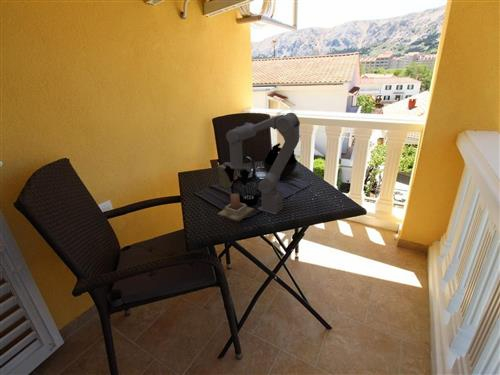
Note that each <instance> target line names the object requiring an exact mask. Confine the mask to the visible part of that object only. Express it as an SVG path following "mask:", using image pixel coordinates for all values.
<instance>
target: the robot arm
mask: <svg viewBox="0 0 500 375" xmlns="http://www.w3.org/2000/svg"><path fill="white" fill-rule="evenodd" d="M300 125H301V123H300V119H299V117H298V116H297V114H295V113H294V112H288V113H286V114H279V115H275V116H272V117H270V118H268V119H265V120H262V121H260V122H258V123H255V124H254V123H252V122H245V123H244V124H243V125H240V126H236V127H234V128H233V129H229V131H227V132H226V134H225V138H226V141H227V142H228V146H229V158H230V159H229V160H230V161H229V162H228V161H226V162H223V164H224V167H226V168H225V169H224V171H225V172H226V173H227V175H228V177H229V180H230V182H234V181H235V176H234V174H235V169H236V170H241V171H240V172H239V173H240V176H241V184H242V186H245V185H247V182H248V178H249V175H250V174H251V171H252V166H250V165H247V164H245V163H244V159H243V157H244V156H243V140H247V139H251V138H253V137H255V136H256V134H257V133H258V132H260V131H263V130H266V129H269V128H272V130H277V132H278V133H279V134H280V135H281V136H282V137H283V140H284V143H283V145H281V147H280V148H281V150H280V152H278V156H277V158H276V160H275V161H274V163H273V165H272V167H271V169H270V171H269V173H268V172H267V174H265V177H264V178H263V179H262V180H261V181H260V182H258V190H259V192H261V193H260V195H261V205H260V206H259V207H258V208H257V209H258V211H261V212H265V213H267V214H268V213H269V214H271V215H272V214H273V215H277V214H278V213H279V212H281V211H282V210H283V209H284V195H283V194H282V193H281V192H279V191H278V185H279V184H280V174H281V172H282V171H283V169H284V167H285V165H286V164H287V162H288V160H289V158H290V156H291V155H292V153H293V151H294V152H295V149H296V148H297V146H298V143H299V142H300Z"/></svg>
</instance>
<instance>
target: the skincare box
mask: <svg viewBox="0 0 500 375" xmlns="http://www.w3.org/2000/svg"><path fill="white" fill-rule="evenodd" d="M217 168H218V181H219V182H218V183H219V184H218V185H219V187H221V188H224V189H229V188H231V185H232V186H233V184H232V182H230V180H229V177H228V175H227V173H226V172H225V171H224V169H225V168H226V167H224V163H223V164H220V165H218V166H217Z"/></svg>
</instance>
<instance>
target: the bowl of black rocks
mask: <svg viewBox="0 0 500 375" xmlns="http://www.w3.org/2000/svg"><path fill="white" fill-rule="evenodd" d="M280 146H281V143H279V142H278V143H276V144H275V145H272V147H271V149H270V150H269V152H268V154H267V156H266V157H265V158H264V159H262V165H263V168H264V170H265V171H266V172H267V174H268V173H269V171H270V169H271V167H272V165H273V163H274V161H275V160H276V158H277V156H278V154H279V152H280V150H281V148H282V147H280ZM297 163H298V160H297V159H296V156H295V150H294V151H293V153H292V155H291V156H290V158H289V160H288V162H287V164H286V165H285V167H284V169H283V171H282V172H281V174H280V178H286V177H288V176H290V175H291V174H292V173H293V172H294V170H295V169H296V167H297ZM280 178H279V179H280Z"/></svg>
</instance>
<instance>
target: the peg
mask: <svg viewBox="0 0 500 375" xmlns="http://www.w3.org/2000/svg"><path fill="white" fill-rule="evenodd" d="M229 196H230V197H229V198H230V204H231V209H235V210H238V209H240V203H241V200H240V193H237V192H236V193H231V194H230V195H229Z"/></svg>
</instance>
